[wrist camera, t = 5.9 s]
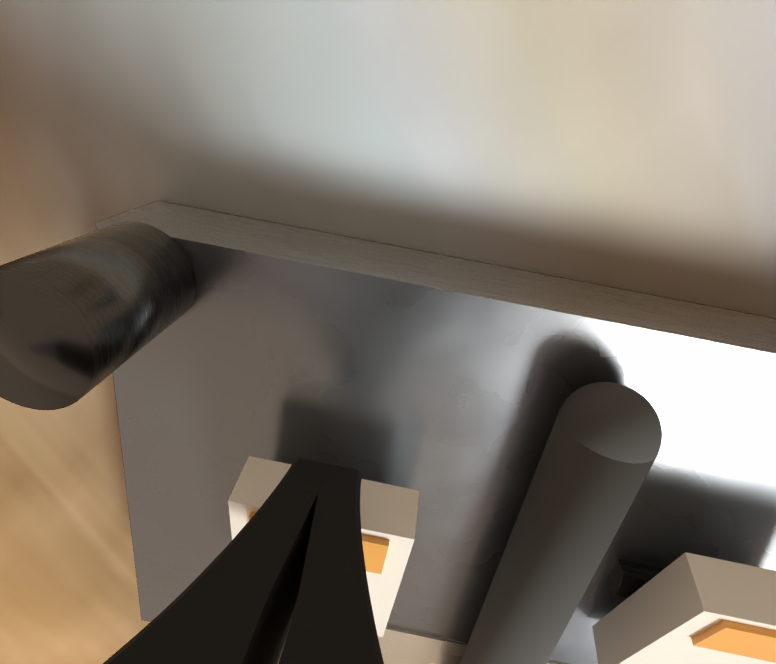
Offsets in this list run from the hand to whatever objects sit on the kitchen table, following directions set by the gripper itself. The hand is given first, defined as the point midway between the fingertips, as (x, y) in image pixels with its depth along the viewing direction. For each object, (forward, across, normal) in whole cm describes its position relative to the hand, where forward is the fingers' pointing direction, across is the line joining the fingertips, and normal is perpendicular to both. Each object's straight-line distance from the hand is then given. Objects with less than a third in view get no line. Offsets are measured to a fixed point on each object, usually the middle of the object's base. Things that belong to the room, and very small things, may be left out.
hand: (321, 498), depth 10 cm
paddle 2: (+1, -10, +3) cm, 10 cm away
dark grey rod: (+2, -6, +4) cm, 7 cm away
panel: (+5, -5, +3) cm, 7 cm away
